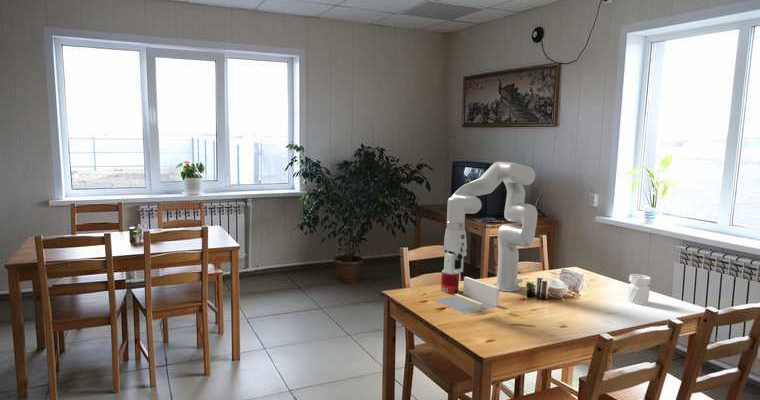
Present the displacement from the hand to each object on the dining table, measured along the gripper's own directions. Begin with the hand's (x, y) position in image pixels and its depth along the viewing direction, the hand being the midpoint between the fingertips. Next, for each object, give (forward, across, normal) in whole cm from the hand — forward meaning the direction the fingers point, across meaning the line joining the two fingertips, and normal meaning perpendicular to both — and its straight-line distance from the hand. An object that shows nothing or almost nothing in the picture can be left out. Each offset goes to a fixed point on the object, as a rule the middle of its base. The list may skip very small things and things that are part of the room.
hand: (453, 266), depth 226 cm
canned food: (+17, +12, -9) cm, 23 cm away
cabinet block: (+2, 0, 0) cm, 2 cm away
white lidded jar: (+18, -38, -79) cm, 90 cm away
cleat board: (+17, -5, -4) cm, 18 cm away
